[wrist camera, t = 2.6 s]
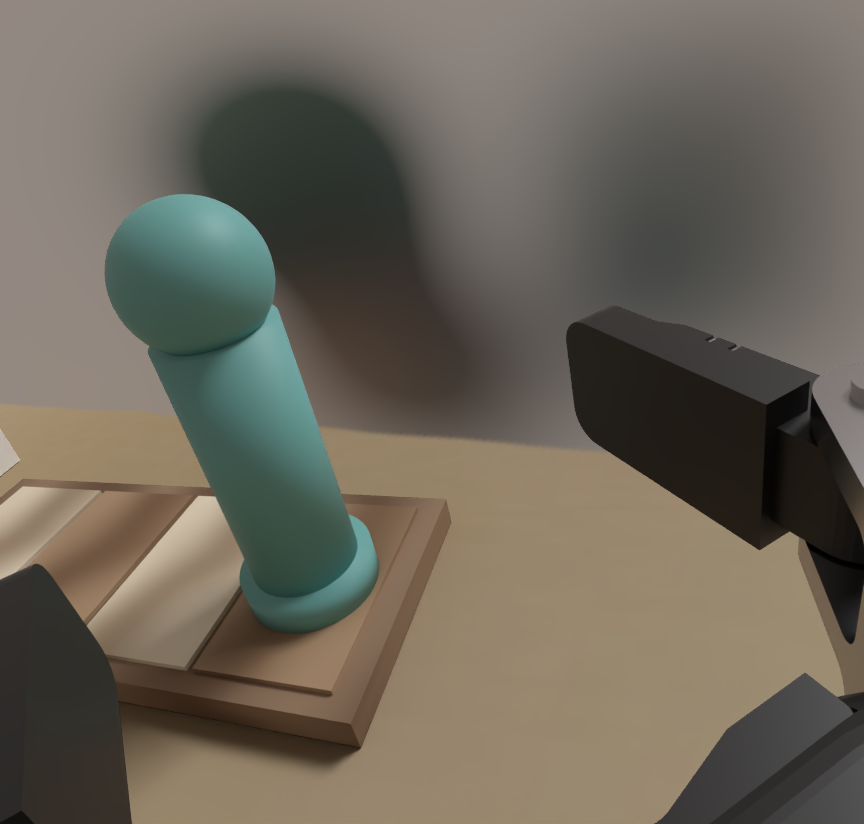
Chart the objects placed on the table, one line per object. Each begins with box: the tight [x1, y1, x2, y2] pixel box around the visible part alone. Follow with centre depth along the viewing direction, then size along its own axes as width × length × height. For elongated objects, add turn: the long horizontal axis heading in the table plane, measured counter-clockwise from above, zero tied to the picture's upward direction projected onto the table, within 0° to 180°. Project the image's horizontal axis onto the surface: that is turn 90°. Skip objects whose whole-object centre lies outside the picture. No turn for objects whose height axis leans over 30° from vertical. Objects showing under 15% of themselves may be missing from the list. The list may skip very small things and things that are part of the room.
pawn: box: [105, 194, 379, 634], centre depth 21 cm, size 5×5×14 cm
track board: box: [0, 479, 451, 748], centre depth 28 cm, size 24×10×1 cm, turn 73°
